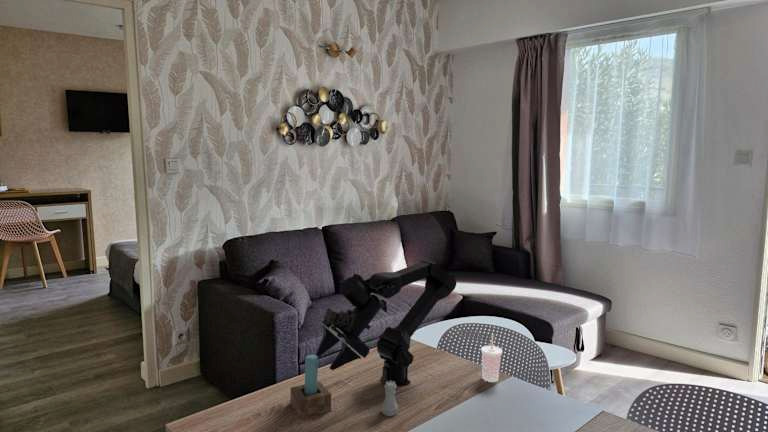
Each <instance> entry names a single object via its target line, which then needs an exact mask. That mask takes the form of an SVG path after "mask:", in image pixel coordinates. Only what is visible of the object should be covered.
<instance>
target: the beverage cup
mask: <svg viewBox="0 0 768 432" xmlns="http://www.w3.org/2000/svg"><path fill="white" fill-rule="evenodd" d="M480 349H481V351H480V353H481V368H482V369H481V374H482V378H481V379H482V380H483V379H484V380H483V381H485V382H487V381H488V383H496V382H498V381H499V377H500V369H501V360H502V355H503V349H502V348H501V347H498V346H495V345H494V332H492V333H491V342H490V345H483V346H482V347H481V348H480Z"/></svg>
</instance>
